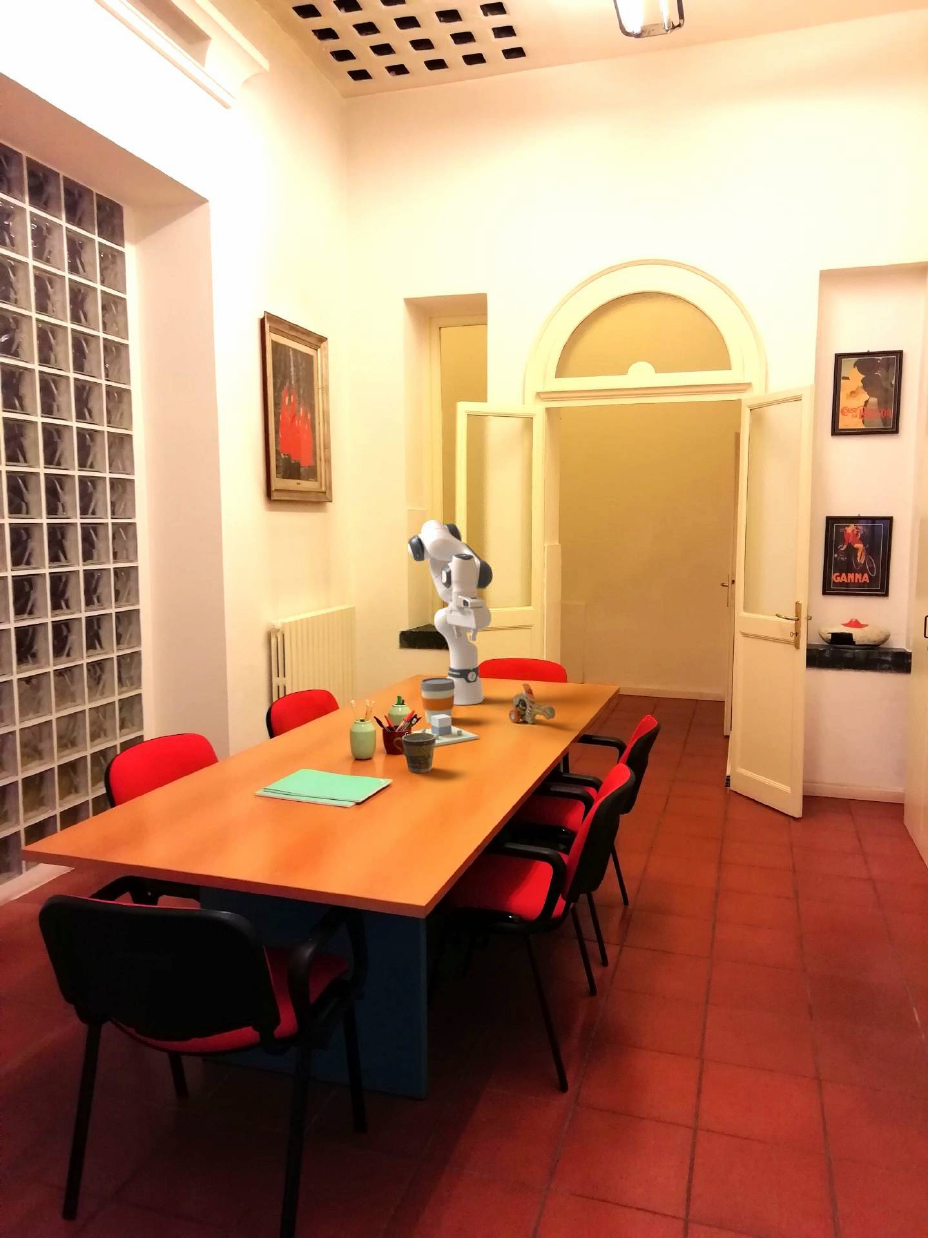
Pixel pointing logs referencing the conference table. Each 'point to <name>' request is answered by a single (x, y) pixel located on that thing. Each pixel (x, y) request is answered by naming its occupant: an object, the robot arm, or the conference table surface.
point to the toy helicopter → (528, 707)
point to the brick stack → (441, 725)
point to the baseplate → (451, 736)
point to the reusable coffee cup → (437, 696)
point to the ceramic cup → (418, 751)
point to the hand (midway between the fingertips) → (465, 639)
